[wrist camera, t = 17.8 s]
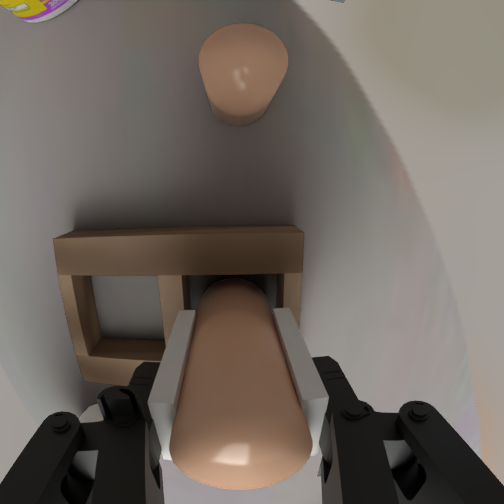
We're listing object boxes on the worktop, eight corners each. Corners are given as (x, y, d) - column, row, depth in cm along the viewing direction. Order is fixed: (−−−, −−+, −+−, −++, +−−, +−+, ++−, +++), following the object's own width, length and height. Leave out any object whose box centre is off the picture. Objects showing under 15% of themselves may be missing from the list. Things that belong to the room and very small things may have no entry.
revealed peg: (209, 72, 15) (200, 23, 9) (268, 73, 15) (287, 25, 9) (208, 126, 15) (197, 99, 10) (268, 126, 16) (289, 99, 10)
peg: (193, 281, 16) (153, 408, 7) (268, 275, 16) (316, 396, 7) (202, 346, 17) (185, 490, 8) (271, 340, 17) (308, 481, 8)
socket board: (72, 231, 16) (53, 238, 14) (293, 225, 17) (303, 232, 15) (96, 361, 18) (84, 381, 16) (287, 364, 19) (294, 386, 17)
